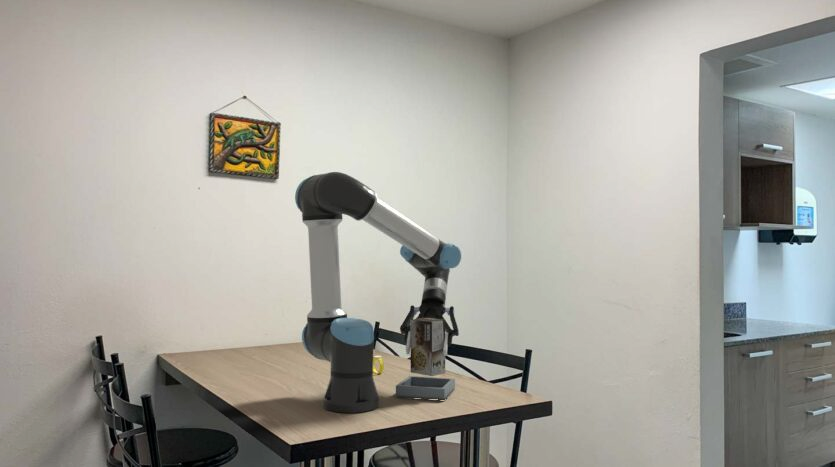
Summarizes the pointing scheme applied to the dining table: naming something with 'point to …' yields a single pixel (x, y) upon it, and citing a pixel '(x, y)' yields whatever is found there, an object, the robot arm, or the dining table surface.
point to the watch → (380, 364)
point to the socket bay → (425, 388)
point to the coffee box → (427, 346)
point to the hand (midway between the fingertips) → (426, 352)
